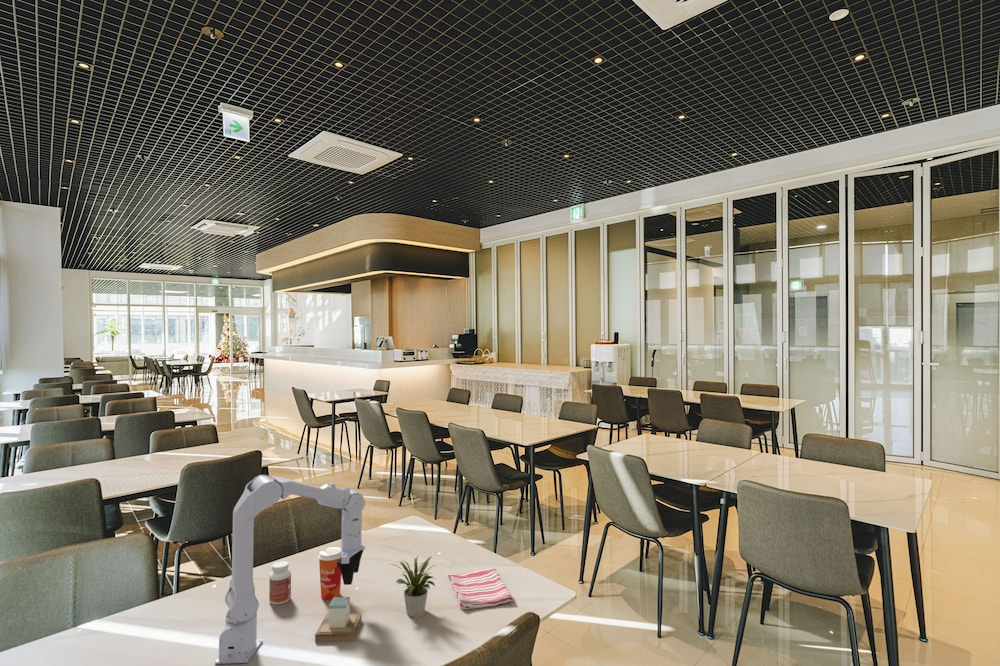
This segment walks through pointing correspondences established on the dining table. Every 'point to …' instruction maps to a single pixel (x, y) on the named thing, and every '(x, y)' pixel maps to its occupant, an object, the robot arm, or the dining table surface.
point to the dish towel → (479, 589)
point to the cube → (339, 612)
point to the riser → (338, 630)
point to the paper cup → (330, 572)
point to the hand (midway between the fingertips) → (351, 578)
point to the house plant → (416, 588)
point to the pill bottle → (280, 583)
